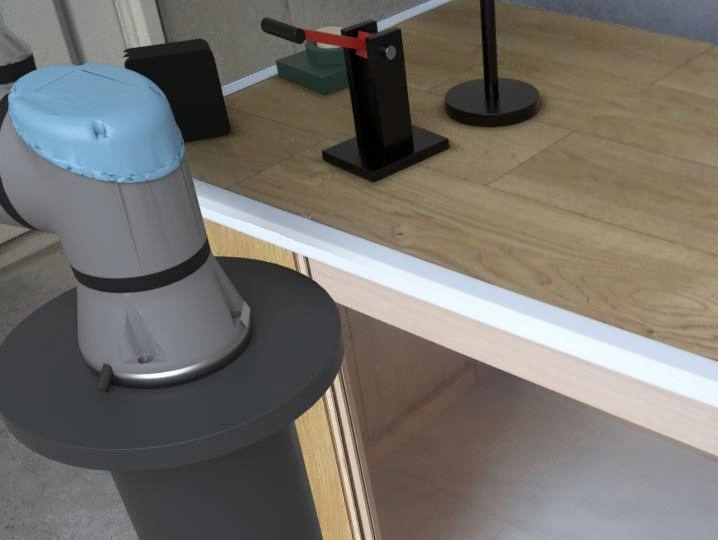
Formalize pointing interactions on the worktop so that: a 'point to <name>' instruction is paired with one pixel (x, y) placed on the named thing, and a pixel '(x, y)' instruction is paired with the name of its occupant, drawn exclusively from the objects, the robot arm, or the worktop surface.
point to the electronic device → (185, 84)
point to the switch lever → (314, 36)
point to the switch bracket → (380, 110)
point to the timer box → (315, 68)
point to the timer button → (329, 30)
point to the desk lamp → (491, 87)
